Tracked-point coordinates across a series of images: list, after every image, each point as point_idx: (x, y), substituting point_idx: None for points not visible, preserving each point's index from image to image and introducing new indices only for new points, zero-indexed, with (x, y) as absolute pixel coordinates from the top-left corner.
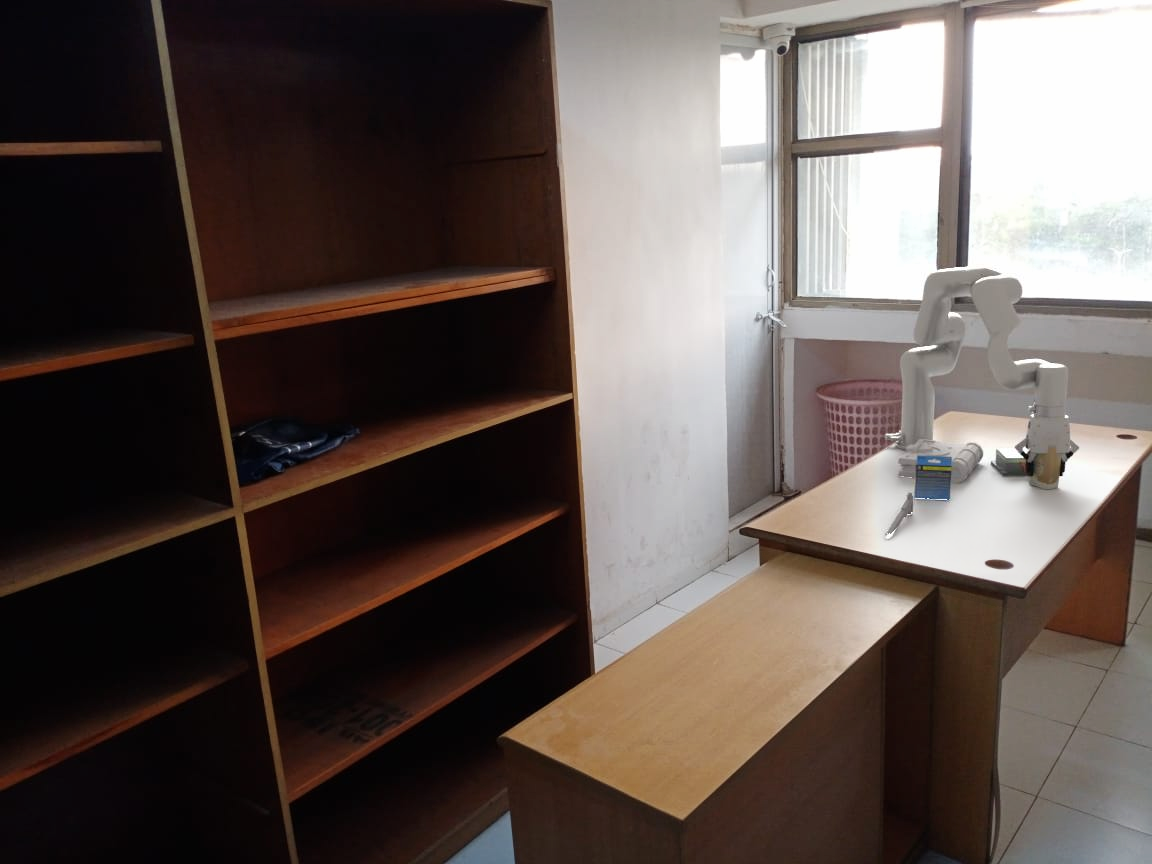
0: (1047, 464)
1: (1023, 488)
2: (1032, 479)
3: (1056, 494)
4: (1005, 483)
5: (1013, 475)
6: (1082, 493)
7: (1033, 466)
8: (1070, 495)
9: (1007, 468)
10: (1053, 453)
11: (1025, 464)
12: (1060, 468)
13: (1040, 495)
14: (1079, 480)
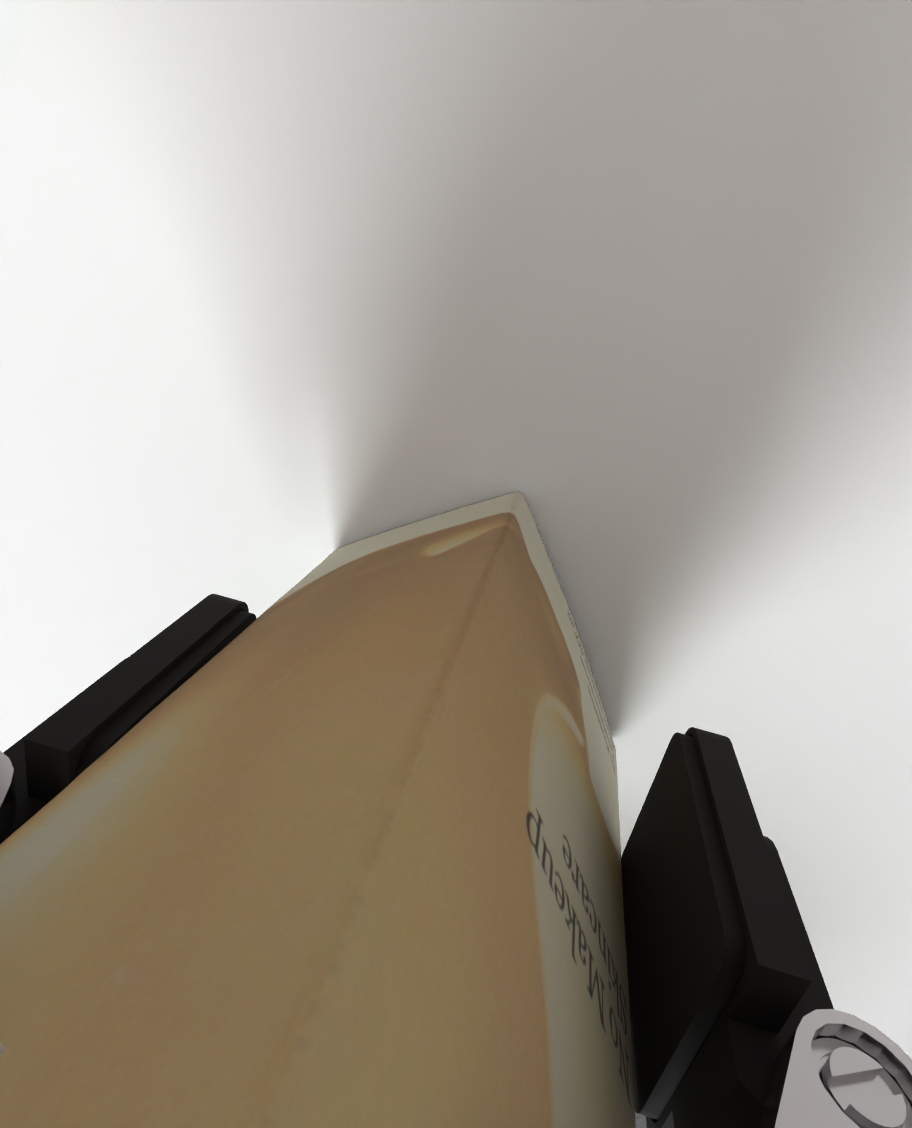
0: (479, 744)
1: (787, 638)
2: (604, 751)
3: (510, 268)
4: (861, 858)
5: None
6: (142, 234)
7: (722, 874)
8: (338, 172)
9: (641, 1125)
10: (143, 1042)
11: None
12: (177, 677)
13: (782, 272)
14: (22, 694)
